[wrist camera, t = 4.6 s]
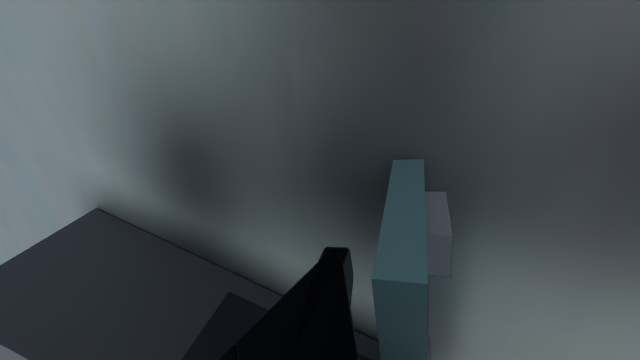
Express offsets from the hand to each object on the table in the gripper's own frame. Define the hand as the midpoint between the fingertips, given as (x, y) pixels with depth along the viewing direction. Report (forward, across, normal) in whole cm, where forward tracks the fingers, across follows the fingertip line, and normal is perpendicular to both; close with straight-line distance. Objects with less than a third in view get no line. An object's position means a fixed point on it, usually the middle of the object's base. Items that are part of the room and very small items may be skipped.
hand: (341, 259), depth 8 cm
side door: (+2, -2, +2) cm, 4 cm away
